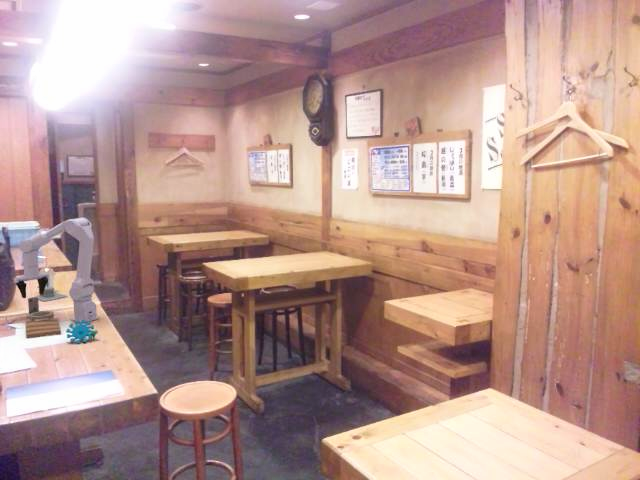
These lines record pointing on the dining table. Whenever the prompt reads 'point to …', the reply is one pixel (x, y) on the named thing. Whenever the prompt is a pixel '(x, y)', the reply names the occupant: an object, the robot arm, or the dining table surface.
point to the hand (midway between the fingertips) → (32, 296)
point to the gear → (81, 331)
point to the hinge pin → (33, 305)
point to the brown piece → (42, 324)
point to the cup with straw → (51, 273)
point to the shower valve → (50, 295)
